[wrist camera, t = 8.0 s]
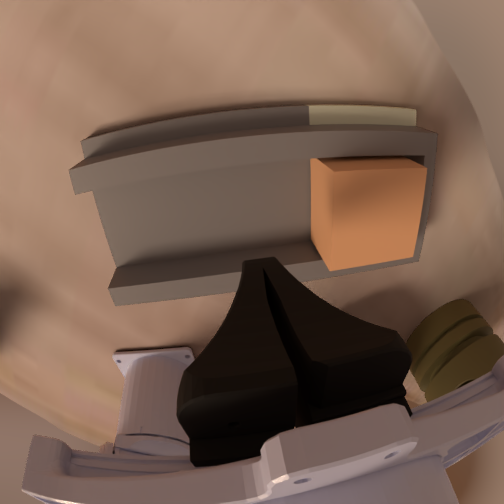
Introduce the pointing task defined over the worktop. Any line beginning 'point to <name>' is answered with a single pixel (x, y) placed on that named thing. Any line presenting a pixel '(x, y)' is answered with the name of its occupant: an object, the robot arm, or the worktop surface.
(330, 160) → the block
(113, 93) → the worktop surface
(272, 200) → the chute
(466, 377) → the piston
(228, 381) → the robot arm
